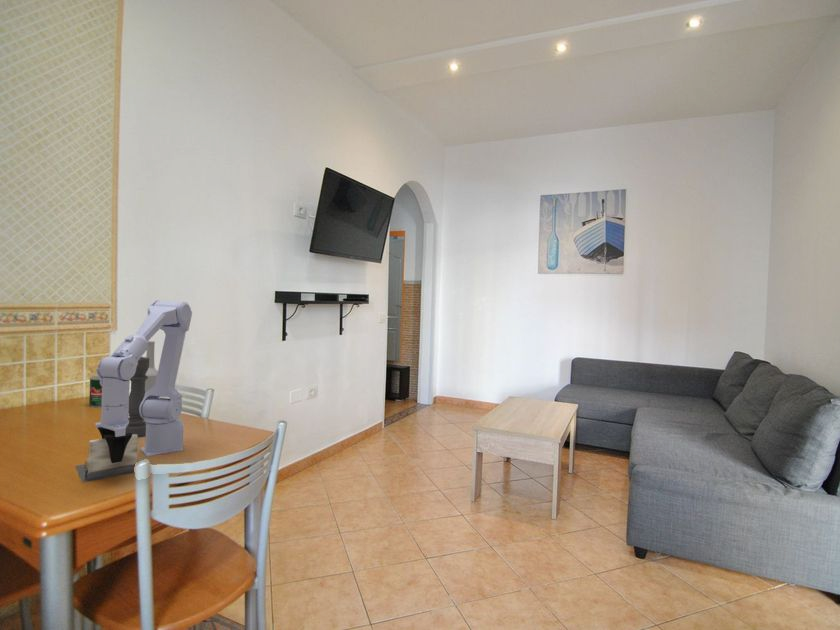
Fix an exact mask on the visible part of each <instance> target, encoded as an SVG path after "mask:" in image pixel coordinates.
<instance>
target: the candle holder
mask: <svg viewBox="0 0 840 630" xmlns="http://www.w3.org/2000/svg"><path fill="white" fill-rule="evenodd" d="M148 368H149V358H148V357H146V356H142V357H141V358H140V359H139V360H138V365H137V367H136V372H135V374H134V376H133V377H132V378H131V379H130V391H129V413H128V420H129V424H128V425H127V427H126V432H125V433H131V434H132V435H133V434H137V435H138V439H139V438H143V437H144V438H146V422H144V418H142V417H141V416H140V413H139V407H140V404H141V402H142V401H143V398H144V395H145V393H146V392H145V381H146V379H148V376H146V375H145V374H146V372H147V371H148Z"/></svg>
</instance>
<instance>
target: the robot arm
mask: <svg viewBox="0 0 840 630" xmlns="http://www.w3.org/2000/svg"><path fill="white" fill-rule="evenodd" d="M192 316H193V311H192V309H191V306H190V305H189V303H188V302H186V301H181V302H179V301H163V300H162V301H161V300H153V301H152V302H151V304H150V306H149V307H147V316H146V318H145V320H144V322H142V324H141V325H140V327H139V328H138V330H137V331H136V333H135V334H130V335H128V336H126V337H125V338H124V340H123V341H122V343H120V344H119V346H118V347H117V348H116V349H115V351H113V352H112V354H111V355H109V356H106V357H104V358H102V359H100V361H99V362H98V365H97V368H96V369H95V371H96V375H97V376H98V377H99V379H100V384H101V386H102V407H100V408H101V411H100V413H101V414H100V421H99V422H95V424H94V426H95V428H97V429H98V431H99V433H100V435H101V439H104V438H105V440H106V442H107V444H108V447H109V453H110V459H111V462H112V463H116V462H121V461H122V459H123V456H124V452H125V449H126V446H127V444H128V442H129V440H130V439H131V437H132V434H131V433H125V432H126V427H127V425H128V424H129V420H128V419H129V395H130V387H131V381H130V379H131V378H132V377H133V376H134V374H135V372H136V367H137V365H138V360H139V359H140V358H141V357H143V356H144V354H145V353H147V349H148V343H147V342H148V341H151V338H152V337H154V335H156V333H158V331H160V330H162V331H163V332H164V334H165V337H164V342H163V345H162V350H161V354H160V359H159V364H158V369H157V371H158V373H157V377H156V382H155V386H154V387H153V388H151V389H150V390H148V391H147V392H146V393H145V395H144V398H143V401H142V402H141V404H140V407H139V413H140V416H141V417H142V418H144V422H146V436H145V437H144V438H145V439H144V440H145V441H144V443H145V445H144V446H143V447H140V450H141V451H142V452H143V454H145V456H147V457H150V456H158V455H162V454H167V453H173V452H180V451H184V447H183V446H184V422H183V419H182V418H180V416H181V413H182V411H183V403H182V400H183V395H182V394H181V393H180V392H179V391H178V390H177V389H176V388H175V386H176V383H177V377H178V372H179V367H180V362H181V358H182V353H183V347H184V344H185V343H184V342H185V338H186V333H187V332H188V331H189V330H190V326H191V321H192ZM157 397H159V398H157Z"/></svg>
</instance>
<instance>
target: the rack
mask: <svg viewBox="0 0 840 630" xmlns="http://www.w3.org/2000/svg"><path fill="white" fill-rule="evenodd" d="M74 467H75V469H76V472H77V474H78V476H79V478H80V480H81V483H82V484H83V483H88V482H94V481H98V480H105V479H109V478H114V477H119V476H124V475H129V474H130V475H131V474H135V473H134V467H135V464H134V465H129V466H123V467H118V468H112V469H107V470H101V471H96V472H90V473H88V469H87V468H86V466H85V463H84V464H80V465H74Z"/></svg>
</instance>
